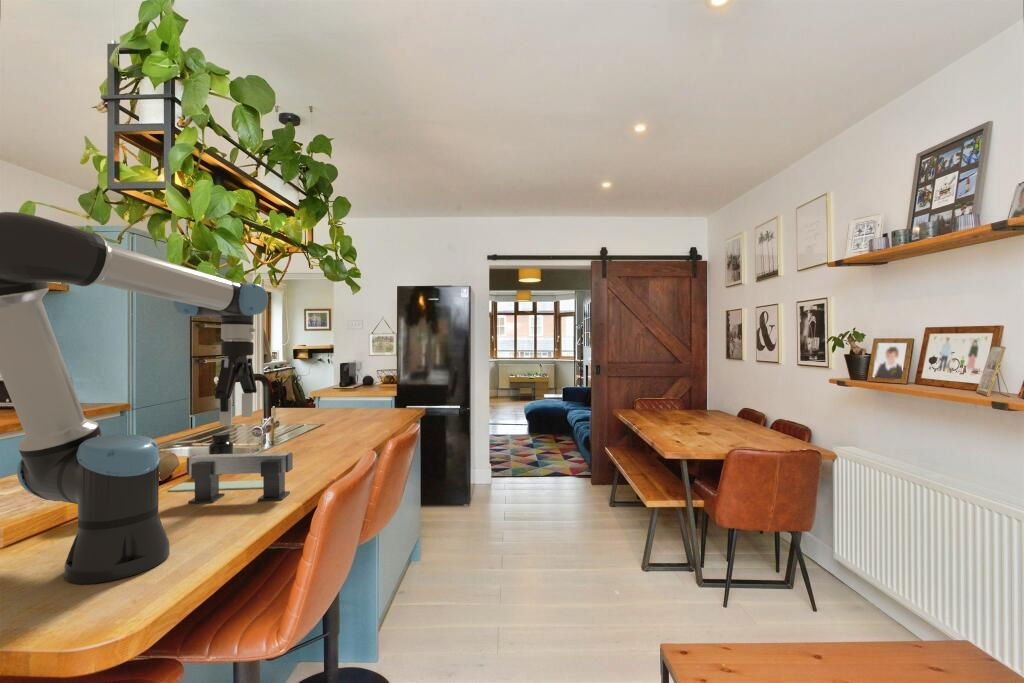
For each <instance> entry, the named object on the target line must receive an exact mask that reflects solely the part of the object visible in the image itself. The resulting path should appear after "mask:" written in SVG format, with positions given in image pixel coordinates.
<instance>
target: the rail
mask: <svg viewBox="0 0 1024 683" xmlns="http://www.w3.org/2000/svg"><path fill="white" fill-rule="evenodd" d="M293 454H294V453H293V451H291V452H255V453H253V452H252V453H249V452H248V453H233V454H209V453H208V454H193V455H190V456H188V457H186V476H191V464H193V463H212V475H213V474H219V475H236V474H237V475H239V474H240V475H243V474H244V475H245V474H246V475H247V474H261V462H262V461H280V473H281V472H285V473H289V472H291V471H292V470H293V467H294V466H293V464H294V463H293Z"/></svg>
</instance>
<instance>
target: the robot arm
mask: <svg viewBox="0 0 1024 683" xmlns="http://www.w3.org/2000/svg"><path fill="white" fill-rule="evenodd" d="M48 283H57V284H58V283H60V284H69V285H74V286H78V287H79V286H80V287H85V288H86V287H91V286H93V285H95V284H96V285H102V286H106V287H110V288H115V289H120V290H125V291H128V292H133V293H138V294H141V295H145V296H147V295H148V296H150V297H156V298H160V299H164V300H169V301H172V305H173V308H174V309H175V311H176V313H178V314H180V315H182V316H190V317H202V318H203V317H204V318H221V319H220V321H221V322H220V324H221V326H220V327H221V328H220V339H221V340H223V341H222V342H221V344H220V354H221V356H223V357H225V356H226V357H227V359H221V361H220V371H219V376H218V379H217V383H216V387H215V388H216V389H215V392H214V398H215V399H216V400H219V421H218V422H219V425H220V426H222V425H233V398H231V397H232V393H233V391H234V389H235V385H236V383H237V379H238V381H239V384H240V387H241V389H242V393H241V418H245V417H246V418H248V417H249V418H250V417H251V418H252V417H254V394H255V393H257V392H258V391H257V390H258V389H257V384H256V378H255V372H254V369H253V368H254V367H253V358H251V357H247V356H253V355H254V350H255V349H254V343H253V341H252V340H253V339H254V333H255V332H256V329H255V328H254V315H255V316H256V315H260V314H262V313H264V312H265V311H266V309H267V308H268V305H269V295H268V292H267V290H266V289H265V288H264V287H263V286H262V285H260V284H258V283H254V282H253V283H251V282H239V281H234V280H230V279H226V278H223V277H221V276H218V275H217V276H216V275H213V274H210V273H206V272H205V271H204V272H203V271H200V270H198V269H193V268H190V267H187V266H183V265H180V264H176V263H174V262H173V263H172V262H169V261H166V260H163V259H161V258H160V259H159V258H156V257H153V256H150V255H147V254H143V253H140V252H136V251H133V250H129V249H126V248H123V247H119V246H117V245H114V244H109V243H108V242H107V241H106V239H105V238H104V237H103V236H102V235H100V234H96V233H93V232H90V231H86V230H84V229H80V228H78V227H74V226H71V225H68V224H64V223H62V222H58V221H54V220H51V219H48V218H44V217H40V216H37V215H32V214H28V213H23V212H16V211H1V212H0V376H1V379H2V381H3V383H4V387H5V388H6V391H7V393H8V395H9V398H10V400H11V402H12V405H13V408H14V410H15V413H16V415H17V418H18V420H19V422H20V426H21V427H22V429H23V430H22V431H23V432H24V437H23V439H22V440H21V441H20V442H19V444H18V445H17V449H18V452H19V454H20V456H21V459H20V461H19V462H18V464H17V469H16V472H17V473H16V475H17V476H16V477H17V478H18V479H17V480H18V482H19V483H20V485H21V487H22V488H23V489H24V490H25V491H27V492H28V493H29V494H31V495H33V496H36V497H38V498H39V499H43V500H45V501H53V502H63V503H69V504H76V505H77V532H76V534H75V537H74V539H73V542H72V545H71V547H70V550H69V552H68V555H67V558H66V560H65V562H64V569H63V571H64V572H63V574H64V577H63V578H64V580H65V581H66V582H69V583H71V584H77V585H78V584H79V585H80V584H81V585H82V584H83V585H84V584H86V585H87V584H89V585H90V584H100V583H106V582H111V581H112V582H113V581H116V580H120V579H121V580H122V579H125V578H128V577H131V576H135V575H138V574H140V573H142V572H146V571H149V570H150V569H153V568H155V567H157V566H158V565H160V564H161V563H163V562H164V561H166V560H167V559H168V558H169V556H170V547H171V546H170V540H169V538H168V536H167V533H166V530H165V528H164V525H163V523H162V521H161V519H160V516H159V502H160V501H159V500H160V499H159V498H160V497H159V495H160V494H159V491H160V490H159V489H160V488H159V483H160V482H159V462H160V458H159V453H160V451H159V446H158V442H156V440H154V439H153V438H151V437H149V436H144V435H140V434H123V433H122V434H120V433H119V434H118V433H117V434H108V435H103V434H102V431H101V428H100V426H99V423H98V422H96V421H94V420H90V419H88V418H86V417H85V415H84V411H83V408H82V406H81V403H80V401H79V398H78V396H77V393H76V389H75V386H74V384H73V382H72V379H71V376H70V374H69V370H68V367H67V365H66V363H65V360H64V358H63V354H62V351H61V349H60V346H59V343H58V341H57V338H56V335H55V333H54V330H53V327H52V324H51V322H50V320H49V317H48V314H47V310H46V308H45V305H44V303H43V297H45V296H46V294H47V293H48V292H49V290H50V287H49V285H48Z"/></svg>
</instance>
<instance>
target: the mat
mask: <svg viewBox="0 0 1024 683" xmlns="http://www.w3.org/2000/svg"><path fill="white" fill-rule="evenodd" d="M253 489H254V490H258V489H263V480H261V479H260V480H235V481H234V480H232V481H219V491H223V490H224V491H225V490H230V491H231V490H253ZM192 491H193V492H195V482H181V483H179V484H177V485H175V486H172V487H171V488H169V489H167V492H168V493H169V492H192Z"/></svg>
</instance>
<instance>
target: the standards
mask: <svg viewBox="0 0 1024 683" xmlns="http://www.w3.org/2000/svg"><path fill="white" fill-rule="evenodd" d="M285 474H286V472H281V473H280V461H262V462H261V473H260V477H261V478H263V488H262V489H263V490H262V491H263V493H262V494H263V495H261V496H260V497H258V498H257V501H258V502H272V501H273V502H275V501H283V500H285V498H287V497H288V496H289V494H291V491H290V490H287V491H286V485H285V484H286V479H285V478H286V475H285ZM219 476H220V474H213V475H212V463H193V464H191V475H190V477H191V479H192V480H194V483H195V491H194V497H193V498H192V499H190V500H189V501H188V504H213V503H215V502H217V501H218V500H220V499H221V498H223V497H225V496H226V495H225V492H224V493H223V492H222V493H220V490H219V482H220V479H219V478H220V477H219Z"/></svg>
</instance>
